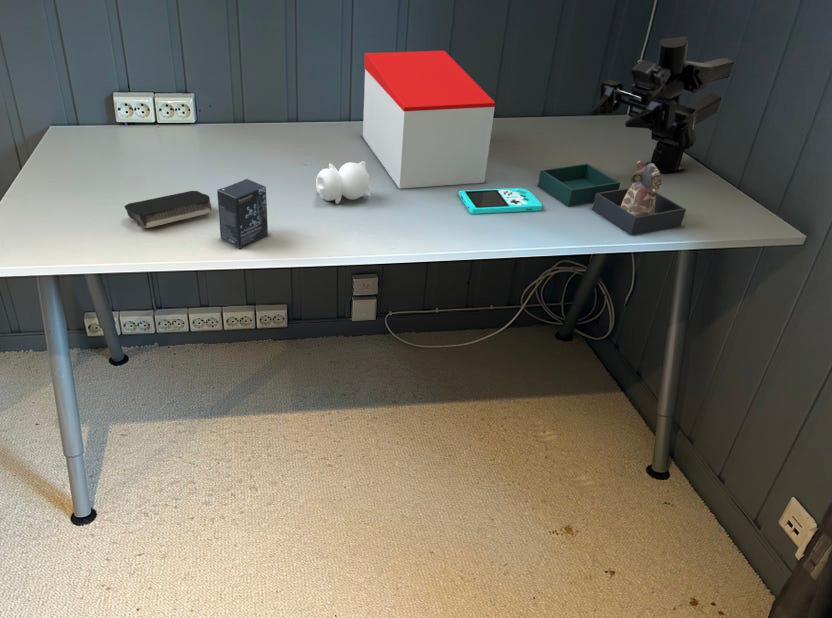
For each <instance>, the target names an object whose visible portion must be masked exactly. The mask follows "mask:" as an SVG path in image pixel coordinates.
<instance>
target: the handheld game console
mask: <svg viewBox="0 0 832 618" xmlns="http://www.w3.org/2000/svg"><path fill="white" fill-rule="evenodd" d="M458 197H459V198H460V199H461V201H462V203H463V204H464V206H465V207H466V209H467V210H468V211H469V213H470V214H472V215H476V214H478V215H481V214H497V213H517V212H536V211H537V212H538V211H542V209H543V204H542V203H541V202H540V201H539V199H538V198H537V197H536V196H535V195H534V194H533V193H532V192H531V191H529V190H528V189H526V188H521V187H509V188H489V189H488V188H487V189H468V190H459V193H458Z"/></svg>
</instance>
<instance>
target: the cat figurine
mask: <svg viewBox="0 0 832 618" xmlns="http://www.w3.org/2000/svg"><path fill="white" fill-rule="evenodd" d="M315 189H316V190H317V194H318V195H319V196H320V197H321V198H322V199H323V200H325V201H328V202H329V201H334V202H335V204H336V205H338V204H339V203H340V202H341V200H342V196H343V197H344V198H345V199H347V200H351V201H353V200H358V199H360V198H362V197H368V198H369V197H371V196H372V193H371V190H370V176H369V173H368V171H367V168H366V161H364V160H363V161H360V162H359V163H357V162H352V161H351V162H345V163H344V164H342V166H341V167H339V170H338V169H337V168H336V166H334V164H333V163H328V167H327V168H323V169H321V170H320V171H319V172H318V174H317V175H316V179H315Z"/></svg>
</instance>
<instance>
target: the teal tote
mask: <svg viewBox="0 0 832 618" xmlns="http://www.w3.org/2000/svg"><path fill="white" fill-rule="evenodd" d="M620 186H621V181H618V180H617V179H616V178H613V177H612V176H610V175H608V174H606V173H605V172H603V171H601V170H600V169H598V168H596V167H595V166H593V165H591V164H590V163H581V164H574V165H566V166H561V167H551V168H547V169H540V171H539V177H538V183H537V187H539V188H540V189H542V190H543V191H545V192H546V193H547V194H549V195H551V196H552V197H554V198H555V199H557V200H558V201H559V202H561V203H562V204H564V205H565V206H567V207H574V206H580V205H585V204H586V205H587V204H593V203H594V198H595V194H596V193H600V192H607V191H613V190H619V189H620Z"/></svg>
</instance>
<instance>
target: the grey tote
mask: <svg viewBox="0 0 832 618" xmlns="http://www.w3.org/2000/svg"><path fill="white" fill-rule="evenodd" d="M629 188H630V187H626V188H619V190H613V191H607V192H600V193H596V194H595V198H594V202H593V203H592V207H591V210H592V211H594V212H595V213H596V214H598V215H599V216H601V217H602V218H604V219H605V220H607V221H609V222H610V223H612V224H614V225H615V226H616V227H618V228H619V229H621V230H622V231H624V232H625V233H627V234H628V235H630V236H633V235H640V234H645V233H650V232H655V231H660V230H665V229H671V228H678V227H682V224H683V221H684V218H685V214H686V211H687V209H686V208H685V207H683V206H681V205H680V204H677V203H676V202H674V201H673V200H671V199H669V198H667V197H666V196H664V195H662V194H660V193H659V192H658V191H657V192H656V202H655V213H654V214H649V215H643V216H637V217H635V216H634V215H632V214H631V213H629V212H627V211H626V210H624V209H623V208H621V204H622V202H623V199H624V197H625V195H626V193H627V191H628V190H629Z"/></svg>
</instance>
